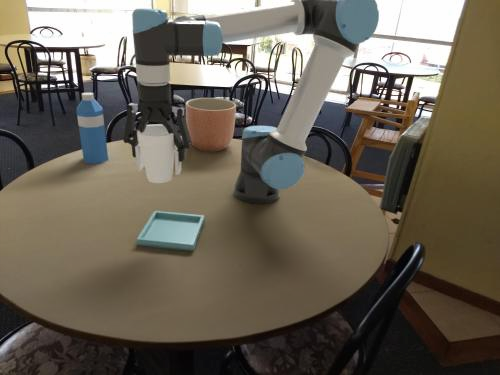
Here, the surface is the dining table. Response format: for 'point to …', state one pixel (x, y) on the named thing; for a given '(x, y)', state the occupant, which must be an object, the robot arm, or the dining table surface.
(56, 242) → the dining table surface
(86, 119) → the water bottle
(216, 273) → the dining table surface
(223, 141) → the planter
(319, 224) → the dining table surface
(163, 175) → the foam cup
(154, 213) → the tray
